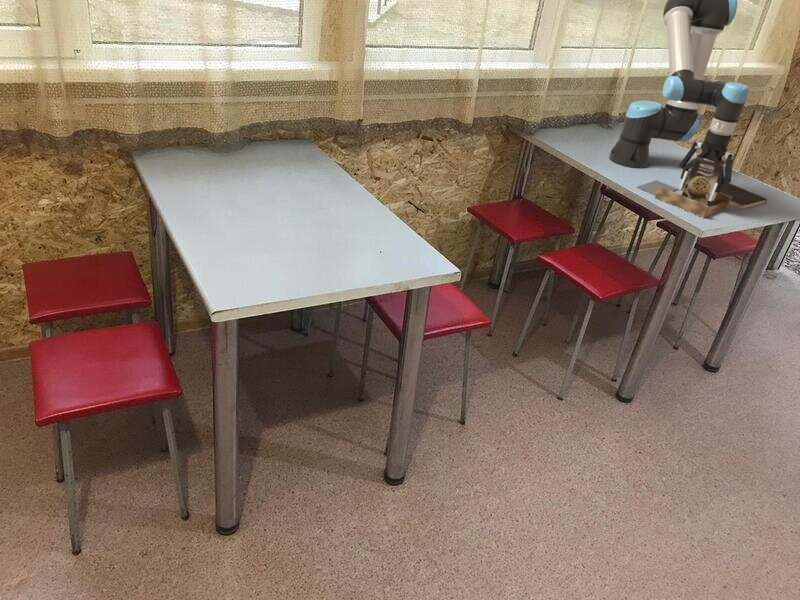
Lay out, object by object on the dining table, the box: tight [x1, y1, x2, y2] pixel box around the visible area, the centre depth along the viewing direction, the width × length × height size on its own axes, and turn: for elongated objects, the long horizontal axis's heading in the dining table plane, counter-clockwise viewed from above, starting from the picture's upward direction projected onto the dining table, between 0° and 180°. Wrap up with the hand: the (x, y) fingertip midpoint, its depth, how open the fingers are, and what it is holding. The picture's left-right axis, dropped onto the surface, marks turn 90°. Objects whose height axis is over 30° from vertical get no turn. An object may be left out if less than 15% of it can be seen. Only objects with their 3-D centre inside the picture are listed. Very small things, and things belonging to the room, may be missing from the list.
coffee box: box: [681, 154, 725, 206], centre depth 224 cm, size 9×6×16 cm
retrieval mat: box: [635, 179, 679, 196], centre depth 237 cm, size 9×14×1 cm, turn 131°
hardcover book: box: [716, 179, 768, 210], centre depth 241 cm, size 16×23×2 cm
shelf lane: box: [654, 187, 732, 218], centre depth 228 cm, size 18×19×4 cm
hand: (696, 194), depth 227 cm, fingers closed on coffee box, 10 cm apart
